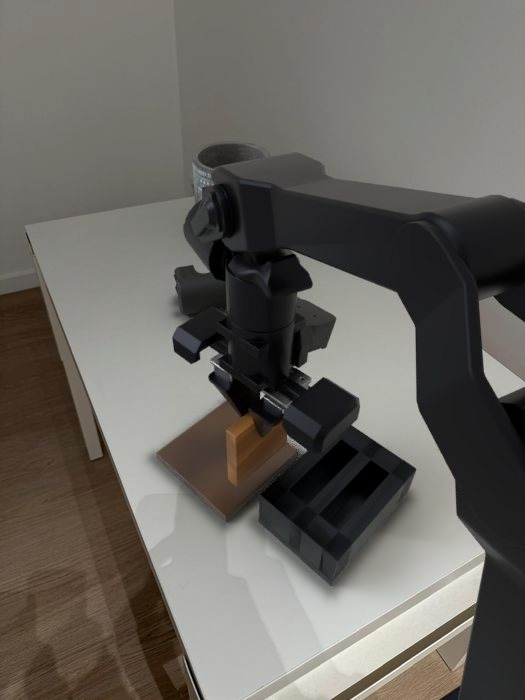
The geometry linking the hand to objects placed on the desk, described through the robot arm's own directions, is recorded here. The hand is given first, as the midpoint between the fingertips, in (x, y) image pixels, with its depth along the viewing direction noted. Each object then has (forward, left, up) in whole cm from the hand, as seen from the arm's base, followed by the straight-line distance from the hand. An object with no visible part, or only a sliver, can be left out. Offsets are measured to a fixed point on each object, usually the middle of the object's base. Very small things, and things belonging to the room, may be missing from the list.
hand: (258, 429), depth 53 cm
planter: (+44, -39, -10) cm, 59 cm away
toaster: (-8, -4, -10) cm, 13 cm away
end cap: (+29, -19, -10) cm, 35 cm away
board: (+5, 0, -10) cm, 11 cm away
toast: (0, 0, -6) cm, 6 cm away
